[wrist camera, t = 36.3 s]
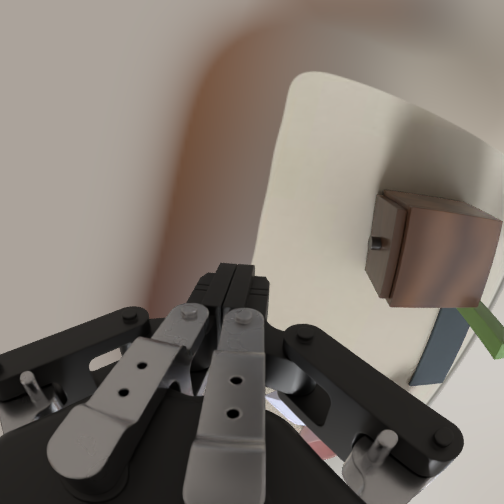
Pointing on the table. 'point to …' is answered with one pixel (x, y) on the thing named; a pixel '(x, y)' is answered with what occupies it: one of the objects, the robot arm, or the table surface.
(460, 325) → the mat
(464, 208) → the cabinet
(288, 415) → the wedge on round base
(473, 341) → the table surface
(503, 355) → the long green square beam
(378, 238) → the drawer
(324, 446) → the mug
